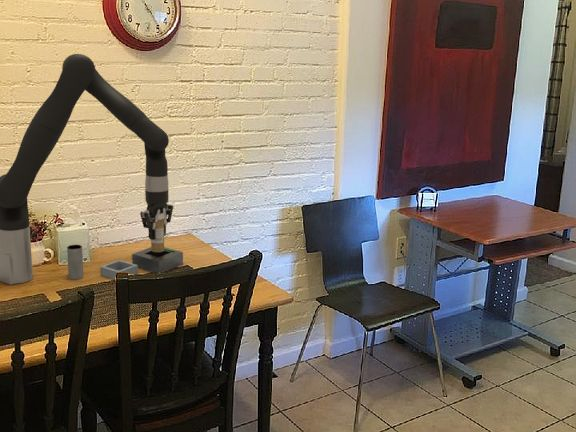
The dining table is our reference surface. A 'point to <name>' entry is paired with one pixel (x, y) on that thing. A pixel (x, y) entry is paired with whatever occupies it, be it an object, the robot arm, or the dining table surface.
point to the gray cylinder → (75, 262)
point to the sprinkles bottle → (158, 235)
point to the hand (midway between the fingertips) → (157, 237)
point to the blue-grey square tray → (118, 268)
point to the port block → (157, 260)
